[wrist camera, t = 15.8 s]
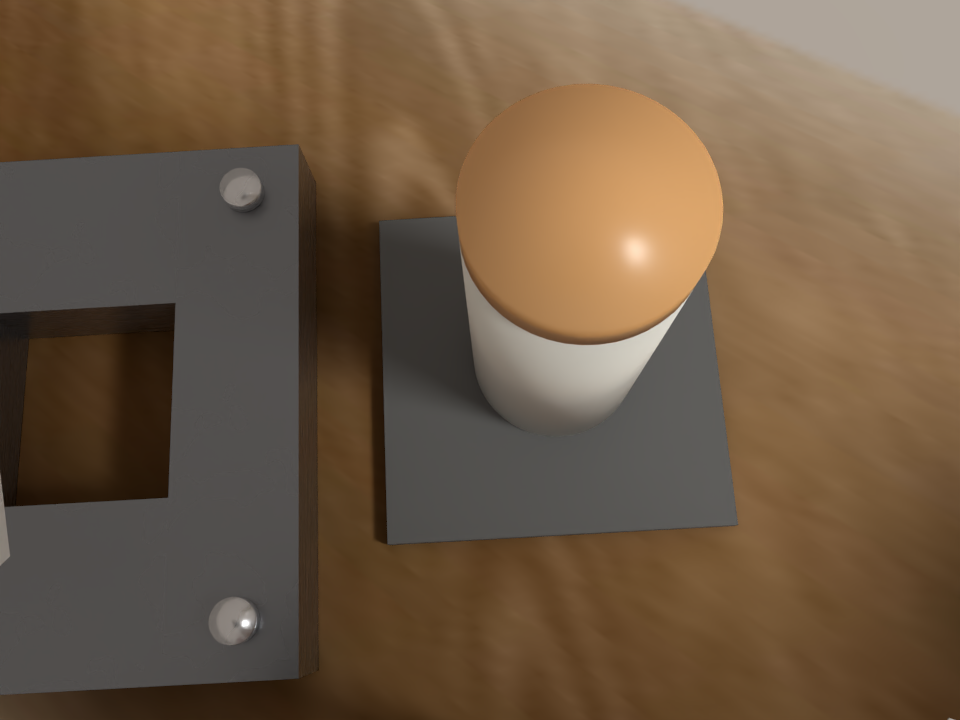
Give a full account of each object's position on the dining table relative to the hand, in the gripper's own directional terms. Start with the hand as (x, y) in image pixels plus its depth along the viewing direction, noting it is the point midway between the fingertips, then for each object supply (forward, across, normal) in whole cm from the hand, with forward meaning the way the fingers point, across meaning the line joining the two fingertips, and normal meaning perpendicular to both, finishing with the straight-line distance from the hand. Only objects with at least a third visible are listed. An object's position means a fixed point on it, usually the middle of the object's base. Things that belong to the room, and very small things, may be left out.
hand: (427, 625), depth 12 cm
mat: (+19, 0, -7) cm, 21 cm away
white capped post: (+19, 0, -6) cm, 20 cm away
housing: (+15, -14, -12) cm, 24 cm away
